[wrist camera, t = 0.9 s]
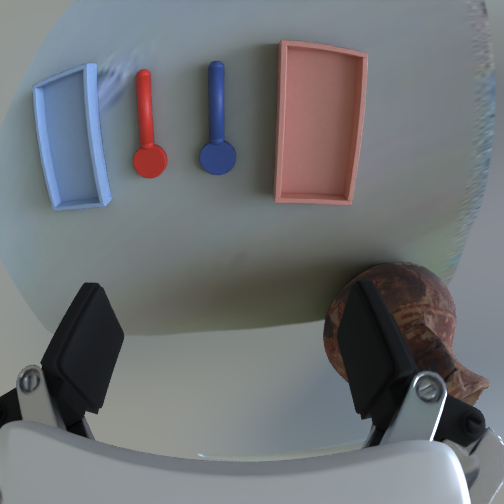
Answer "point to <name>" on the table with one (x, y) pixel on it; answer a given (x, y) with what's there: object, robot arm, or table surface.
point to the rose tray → (318, 122)
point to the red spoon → (147, 131)
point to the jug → (413, 324)
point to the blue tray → (71, 139)
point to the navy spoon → (217, 126)
